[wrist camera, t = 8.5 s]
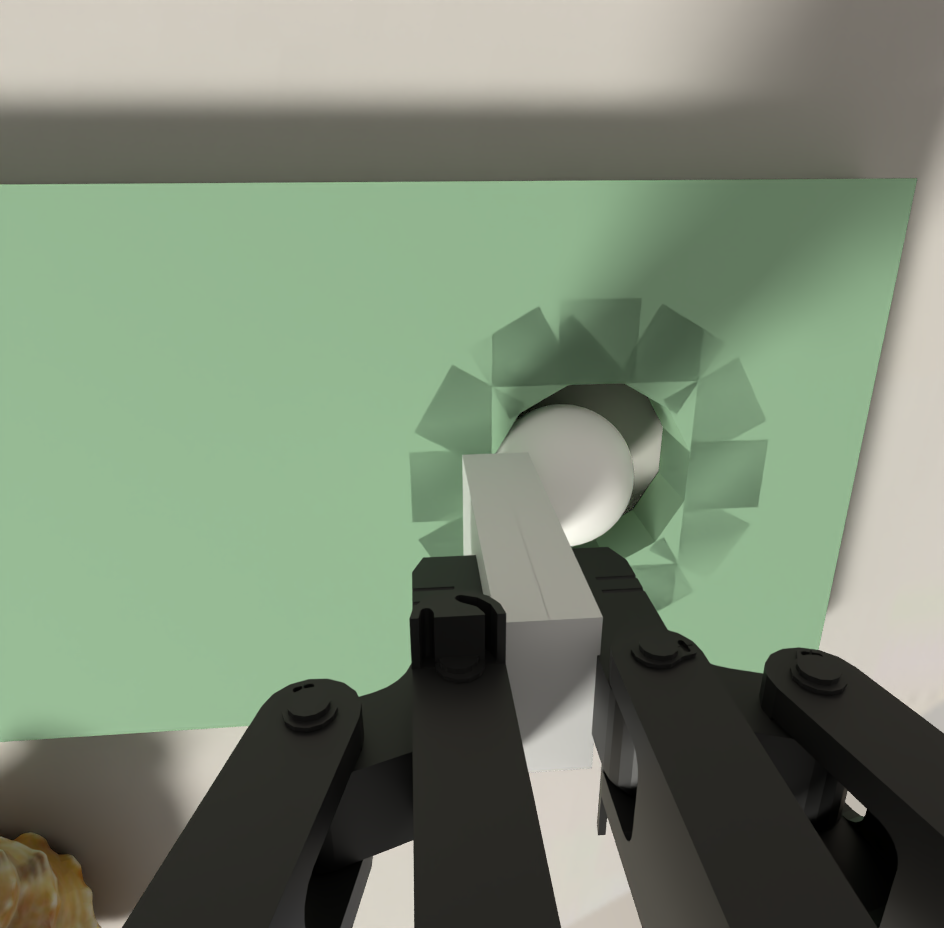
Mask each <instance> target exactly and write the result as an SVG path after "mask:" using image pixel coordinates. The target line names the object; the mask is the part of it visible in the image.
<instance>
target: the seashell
mask: <svg viewBox="0 0 944 928" xmlns="http://www.w3.org/2000/svg"><path fill="white" fill-rule="evenodd" d="M92 899H93V893H92V891H91V889H90V888H89V887H88V886H87V885H86V884H85V883H84V881H83V875H82V870H81V865H80V864H79V862H78V861H77V860H76V859H75V857H74V856H73V855H70V854H57V853H56V852H54V851H53V850H52V849H50V847H49V845H48V843H47V841H46V839H45V838H44V837H42V836H40V835H38V834H35V833H31V832H30V833H24V834H21V835H20V836H19V837H17V838H16V839H14V840H9V839H6V838H4V837H1V836H0V928H101V927H100V925H99V924H98V923H97V921H96V918H95V915H94V910H93V904H92Z"/></svg>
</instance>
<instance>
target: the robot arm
mask: <svg viewBox="0 0 944 928" xmlns="http://www.w3.org/2000/svg"><path fill="white" fill-rule="evenodd" d="M462 476H463V555H464V556H444V557H423V558H422V560H421V561H420V562H419V564H418V565H417V566H416V568H415V569H414V570H413V572H412V612H411V615H410V618H409V622H410V643H411V665H410V666H409V668H408V670H407V672H406V673H405V674H404V675H403V676H402V677H401V678H400V679H399V680H397V681H396V682H394V683H393V684H391V685H389V686H388V687H386V688H383V689H381V690H378V691H376V692H373V693H370V694H366V695H363V696H360V697H358V695H357V692H356V691H355V690H354V689H352V688H351V687H349V686H348V685H347V684H345V683H343V682H339V681H335V680H331V679H307V680H304V681H300V682H297V683H293V684H290V685H288V686H286V687H284V688H283V689H281V690H279V691H277V692H276V693H274V694H273V695H272V696H271V697H270V698H269V699H268V700H267V701H266V702H265V703H264V704H263V705H262V706H261V708H260V709H259V711H258V713H257V714H256V716H255V717H254V719H253V721H252V722H251V724H250V725H249V727H248V728H247V730H246V732H245V733H244V735H243V736H242V738H241V740H240V741H239V743H238V744H237V746H236V748H235V749H234V751H233V752H232V754H231V755H230V757H229V759H228V760H227V762H226V763H225V765H224V767H223V768H222V770H221V771H220V773H219V775H218V776H217V778H216V779H215V781H214V782H213V784H212V786H211V787H210V789H209V790H208V792H207V794H206V795H205V797H204V798H203V800H202V802H201V803H200V805H199V806H198V808H197V809H196V811H195V813H194V814H193V816H192V817H191V819H190V821H189V822H188V824H187V825H186V827H185V829H184V830H183V832H182V833H181V835H180V836H179V838H178V840H177V841H176V843H175V844H174V846H173V848H172V849H171V851H170V852H169V854H168V856H167V857H166V859H165V860H164V862H163V864H162V865H161V867H160V868H159V870H158V871H157V873H156V875H155V876H154V878H153V879H152V881H151V883H150V884H149V886H148V887H147V889H146V891H145V892H144V894H143V895H142V897H141V898H140V900H139V902H138V903H137V905H136V906H135V908H134V910H133V911H132V913H131V914H130V916H129V918H128V919H127V921H126V922H125V924H124V925H123V927H122V928H352V927H353V923H354V920H355V917H356V914H357V911H358V908H359V905H360V901H361V898H362V895H363V892H364V889H365V886H366V883H367V879H368V876H369V873H370V870H371V867H372V858H373V856H374V855H376V854H379V853H381V852H384V851H387V850H389V849H392V848H394V847H397V846H399V845H402V844H404V843H407V842H410V841H412V840H414V928H561V925H560V921H559V916H558V911H557V906H556V901H555V897H554V892H553V887H552V882H551V878H550V873H549V868H548V863H547V858H546V854H545V849H544V844H543V839H542V834H541V830H540V825H539V820H538V815H537V811H536V806H535V801H534V796H533V791H532V787H531V782H530V777H529V773H533V772H547V771H561V770H575V769H589V768H592V760H593V746H594V742H595V745H596V748H597V751H598V754H599V757H600V760H601V763H602V767H601V779H600V792H599V805H598V817H597V828H598V835H605V833H606V822H607V818H608V820H609V823H610V826H611V830H612V833H613V836H614V839H615V842H616V846H617V849H618V852H619V855H620V858H621V861H622V865H623V868H624V871H625V874H626V877H627V881H628V884H629V887H630V890H631V893H632V897H633V900H634V903H635V906H636V909H637V912H638V915H639V919H640V922H641V925H642V928H944V733H942V732H941V731H939V730H938V729H937V728H936V727H934V726H933V725H932V724H930V723H929V722H928V721H926V720H925V719H924V718H923V717H921V716H920V715H919V714H917V713H916V712H915V711H913V710H912V709H911V708H909V707H908V706H907V705H905V704H904V703H903V702H901V701H900V700H899V699H897V698H896V697H895V696H893V695H892V694H891V693H889V692H888V691H887V690H885V689H884V688H883V687H881V686H880V685H879V684H877V683H876V682H875V681H873V680H872V679H871V678H869V677H868V676H867V675H865V674H864V673H863V672H861V671H860V670H859V669H857V668H856V667H855V666H853V665H851V664H849V663H848V662H846V661H844V660H843V659H841V658H839V657H837V656H834V655H831V654H828V653H825V652H823V651H820V650H815V649H809V648H801V647H797V648H786V649H781V650H779V651H777V652H774V653H772V654H770V656H769V657H768V659H767V661H766V662H765V665H764V671H763V673H757V672H751V671H744V670H738V669H731V668H726V667H722V666H717V665H713V664H711V663H710V662H709V661H708V659H707V658H706V656H705V654H704V653H703V651H702V650H701V649H700V648H699V647H698V646H697V645H696V644H695V643H694V642H693V641H692V640H690V639H688V638H686V637H685V636H683V635H681V634H679V633H677V632H673V631H670V630H668V629H667V628H666V626H665V624H664V622H663V621H662V619H661V617H660V616H659V614H658V612H657V611H656V609H655V607H654V605H653V604H652V602H651V600H650V599H649V597H648V595H647V594H646V592H645V591H643V587H642V585H641V583H640V582H639V580H638V578H636V575H635V573H634V571H633V570H632V568H631V566H630V565H629V563H628V561H627V560H626V559H625V558H623V557H622V556H621V555H619V554H618V553H616V552H615V551H613V550H612V549H610V548H609V547H594V548H571V546H570V544H569V542H568V539H567V537H566V535H565V533H564V531H563V528H562V526H561V524H560V522H559V520H558V517H557V515H556V513H555V511H554V509H553V506H552V504H551V502H550V500H549V498H548V495H547V493H546V491H545V489H544V487H543V484H542V482H541V480H540V478H539V476H538V473H537V471H536V469H535V467H534V465H533V462H532V460H531V458H530V456H529V454H528V452H524V453H497V454H469V455H462ZM847 791H849V792H850V793H851V794H852V795H853V796H854V797H855V798H856V799H857V800H859V802H861V803H862V804H863V805H864V806H865V807H866V808H867V811H866V815H865V816H864V817H863V816H860V815H859V814H858V813H856V812H855V811H854V810H852V809H851V808H850V807H849V806H848V805H847V804H846V803H845V799H846V795H847Z"/></svg>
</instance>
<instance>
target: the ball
mask: <svg viewBox="0 0 944 928" xmlns="http://www.w3.org/2000/svg"><path fill="white" fill-rule="evenodd" d="M524 452H528V454H529V456H530V458H531V460H532V462H533V465H534V467H535V469H536V471H537V473H538V476H539V478H540V480H541V482H542V484H543V487H544V489H545V491H546V493H547V495H548V498H549V500H550V502H551V504H552V506H553V509H554V511H555V513H556V515H557V517H558V520H559V522H560V524H561V526H562V528H563V531H564V533H565V535H566V537H567V539H568V542H569V544H570V546H576V545H580V544H584V543H587V542H589V541H592V540H594V539H596V538H597V537H599V536H601V535H603V534H604V533H605V532H607V531H608V530H609V529H610V528H611V527H612V526H613V525H614V524H615V523H616V522H617V521H618V520H619V519H620V517H621V516H622V514H623V513H624V511H625V510H626V507H627V505H628V503H629V501H630V498H631V494H632V491H633V484H634V466H633V460H632V457H631V453H630V451H629V448H628V446H627V444H626V442H625V440H624V438H623V437H622V435H621V434H620V432H619V431H618V430H617V429H616V428H615V427H614V426H613V424H611V423H610V422H609V421H608V420H607V419H605V418H604V417H602V416H601V415H599V414H598V413H596V412H594V411H592V410H590V409H587V408H584V407H581V406H576V405H568V404H554V405H549V406H544V407H540V408H537V409H535V410H532V411H530V412H529V413H527V414H525V415H523V416H522V417H520V418H519V419H518V420H516V421H515V422H514V424H513V425H512V427H511V429H510V430H509V432H508V433H507V435H506V437H505V438H504V440H503V442H502V443H501V445H500V447H499V448H498V450H497V452H496V453H495V454H497V453H524Z"/></svg>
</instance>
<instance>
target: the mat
mask: <svg viewBox="0 0 944 928" xmlns="http://www.w3.org/2000/svg"><path fill="white" fill-rule="evenodd" d="M916 182H917V178H892V179H743V180H594V181H446V182H297V183H148V184H0V742H7V741H22V740H38V739H53V738H69V737H84V736H100V735H115V734H130V733H146V732H161V731H177V730H192V729H208V728H223V727H239V726H249V725H250V724H251V722H252V721H253V719H254V717H255V716H256V714H257V713H258V711H259V709H260V708H261V706H262V705H263V704H264V703H265V702H266V701H267V700H268V699H269V698H270V697H271V696H272V695H273V694H274V693H276V692H277V691H279V690H281V689H283V688H284V687H286V686H288V685H290V684H293V683H297V682H300V681H304V680H307V679H331V680H335V681H339V682H343V683H345V684H347V685H348V686H349V687H351V688H352V689H354V690H355V691H356V692H357V695H358V697H360V696H363V695H366V694H370V693H373V692H376V691H378V690H381V689H383V688H386V687H388V686H389V685H391V684H393V683H394V682H396V681H397V680H399V679H400V678H401V677H402V676H403V675H404V674H405V673H406V672H407V670H408V668H409V666H410V665H411V643H410V622H409V618H410V615H411V612H412V572H413V570H414V569H415V568H416V566H417V565H418V564H419V562H420V561H421V560H422V558H423V557H444V556H464V555H463V476H462V455H469V454H495V453H496V452H497V450H498V448H499V447H500V445H501V443H502V442H503V440H504V438H505V437H506V435H507V433H508V432H509V430H510V429H511V427H512V425H513V424H514V422H515V420H516V419H517V417H518V415H519V414H520V413H521V412H523V411H525V410H526V409H528V408H530V407H532V406H533V405H535V404H537V403H538V402H540V401H542V400H544V399H545V398H547V397H549V396H550V395H552V394H554V393H556V392H557V391H559V390H561V389H562V388H564V387H566V386H568V385H584V384H618V383H624V384H626V385H628V386H629V387H631V388H633V389H635V390H636V391H638V392H640V393H642V394H643V395H645V396H647V397H648V398H649V400H650V402H651V404H652V406H653V408H654V410H655V412H656V414H657V416H658V418H659V420H660V422H661V424H662V426H663V432H662V442H661V452H660V463H659V472H658V473H657V475H656V476H655V478H654V479H653V481H652V482H651V484H650V485H649V486H648V488H647V489H646V491H645V492H644V494H643V495H642V497H641V498H640V500H639V501H638V502H637V504H636V505H635V507H634V508H633V510H631V511H629V512H628V513H626V514H624V515H622V516H621V517H620V519H619V520H618V521H617V522H616V523H615V524H614V525H613V526H612V527H611V528H610V529H609V530H608V531H607V532H605V533H604V534H603V535H601V536H599V537H597V538H596V539H594V540H592V541H589V542H587V543H584V544H580V545H576V546H571V548H594V547H609V548H610V549H612V550H613V551H615V552H616V553H618V554H619V555H621V556H622V557H623V558H625V559H626V560H627V561H628V563H629V565H630V566H631V568H632V570H633V571H634V573H635V575H636V578H638V580H639V582H640V583H641V585H642V587H643V591H645V592H646V594H647V595H648V597H649V599H650V600H651V602H652V604H653V605H654V607H655V609H656V611H657V612H658V614H659V616H660V617H661V619H662V621H663V622H664V624H665V626H666V628H667V629H668V630H670V631H673V632H677V633H679V634H681V635H683V636H685V637H686V638H688V639H690V640H692V641H693V642H694V643H695V644H696V645H697V646H698V647H699V648H700V649H701V650H702V651H703V653H704V654H705V656H706V658H707V659H708V661H709V662H710V663H711V664H713V665H717V666H722V667H726V668H731V669H738V670H744V671H751V672H757V673H763V671H764V665H765V662H766V661H767V659H768V657H769V656H770V654H772V653H774V652H777V651H779V650H781V649H786V648H797V647H801V648H809V649H815V650H818V649H819V645H820V640H821V635H822V630H823V626H824V621H825V616H826V611H827V606H828V602H829V597H830V592H831V587H832V583H833V578H834V573H835V568H836V564H837V559H838V554H839V549H840V545H841V540H842V535H843V530H844V525H845V521H846V516H847V511H848V506H849V502H850V497H851V492H852V487H853V483H854V478H855V473H856V468H857V463H858V459H859V454H860V449H861V444H862V440H863V435H864V430H865V425H866V421H867V416H868V411H869V406H870V402H871V397H872V392H873V387H874V382H875V378H876V373H877V368H878V363H879V359H880V354H881V349H882V344H883V340H884V335H885V330H886V325H887V321H888V316H889V311H890V306H891V301H892V297H893V292H894V287H895V282H896V278H897V273H898V268H899V263H900V259H901V254H902V249H903V244H904V239H905V235H906V230H907V225H908V220H909V216H910V211H911V206H912V201H913V197H914V192H915V187H916Z"/></svg>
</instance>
